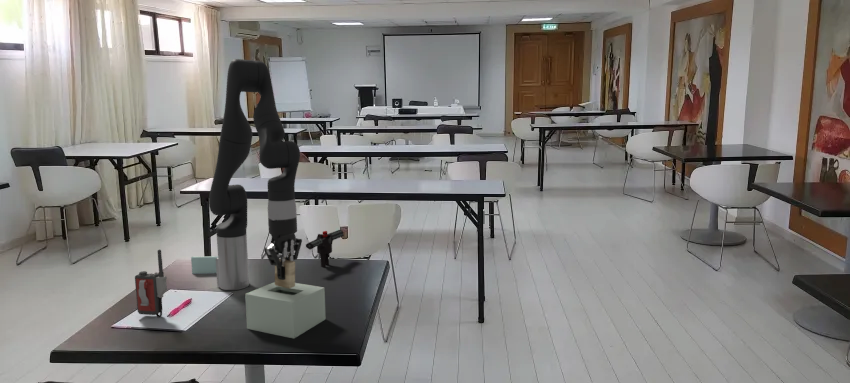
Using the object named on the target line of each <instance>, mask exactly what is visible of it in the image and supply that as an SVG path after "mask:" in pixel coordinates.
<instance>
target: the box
mask: <svg viewBox="0 0 850 383" xmlns="http://www.w3.org/2000/svg"><path fill="white" fill-rule="evenodd" d="M325 294H326V293H325V287H322V286H317V285H311V284H306V283H305V284H304V283H298V282H295V286H294V287H292V288H290V289H289V288H285V287H281V286H276V285H275V281H274V282H272V283H269V284H266V285H264V286H261V287H259V288H256V289H254V290H251V291H250V292H246V293H244V295H245V298H244V301H245V314H246V318H245V319H246V329H247V330H252V331H256V332H260V333H261V332H262V333H265V334H271V335H275V336H280V337H285V338H290V339H296V338H297V337H299V336H301V335H302V334H304V333H305V332H307V331H308V330H309V331H310V329H312V328H314V327H315V326H317V325H319V324H320V323H322V322H323V321H325V320H326V295H325Z"/></svg>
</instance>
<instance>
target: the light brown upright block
mask: <svg viewBox="0 0 850 383" xmlns="http://www.w3.org/2000/svg"><path fill="white" fill-rule="evenodd" d="M279 260H280V262H281V258H279ZM274 282H275V285H276V286H281V287H285V288H289V289H290V288H292V287H294V286H295V283H296V260H294V261H290V260H285V280H280V279H278V277H277V266H275V265H274Z"/></svg>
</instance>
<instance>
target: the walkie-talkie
mask: <svg viewBox="0 0 850 383" xmlns="http://www.w3.org/2000/svg"><path fill="white" fill-rule="evenodd" d="M162 257H163V256H162V250H161V249H158V250H157V260H158V261H157V262H158V263H157V264H158V272H156V271H155V272H154V273H153V272H152V273H148V271H147V270H144V271H140V272H138V274H137V275H135V276H134V284H135V293H136V294H135V295H136V306H137V307H136V308H137V309H136V310H137V313H138V314H139V315H148V316H156V317H158V318H161V317H162V316H163V300H162V299H163V297H164V294H165V293H166V291H167V290H168V288H167V287H168V285H167V278H168V277H167V275H165V273H164V268H163V267H164V266H163V258H162Z"/></svg>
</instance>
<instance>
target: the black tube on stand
mask: <svg viewBox="0 0 850 383" xmlns="http://www.w3.org/2000/svg"><path fill="white" fill-rule="evenodd" d="M342 237H344V232H343V231H342V230H341V229H338V230H336V231H332V232H330V233H328V231H327V230H325V231H322V233H317V236H316V239H314V240H312V241H310V242H308V243H306V244H305V248H306V249H308V250H312V249H315V248H316V253H317V254H319V259H320V267H321V268H326V266H329V265H330V260H329V259H330V254H331V253H332V252H333V242H334V241H335V240H337V239H340V238H342Z"/></svg>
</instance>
